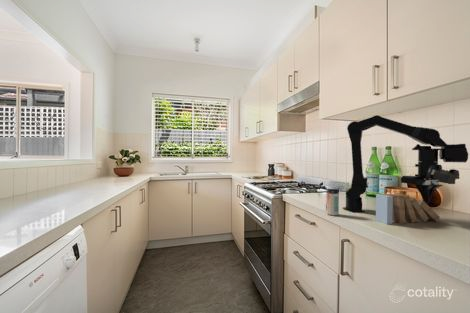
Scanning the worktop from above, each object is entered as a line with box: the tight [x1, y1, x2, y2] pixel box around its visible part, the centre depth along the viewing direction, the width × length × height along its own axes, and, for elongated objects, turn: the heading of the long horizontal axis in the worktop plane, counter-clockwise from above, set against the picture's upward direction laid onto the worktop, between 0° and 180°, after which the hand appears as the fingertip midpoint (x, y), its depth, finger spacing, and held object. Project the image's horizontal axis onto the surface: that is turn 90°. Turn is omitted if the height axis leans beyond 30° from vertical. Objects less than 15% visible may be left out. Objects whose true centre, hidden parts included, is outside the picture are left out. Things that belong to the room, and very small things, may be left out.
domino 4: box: [415, 198, 440, 222], centre depth 83 cm, size 5×2×10 cm
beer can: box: [325, 184, 340, 217], centre depth 89 cm, size 5×5×12 cm
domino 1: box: [386, 193, 406, 225], centre depth 80 cm, size 5×2×10 cm, turn 10°
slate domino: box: [375, 193, 393, 225], centre depth 80 cm, size 5×2×10 cm, turn 10°
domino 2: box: [395, 193, 418, 224], centre depth 81 cm, size 5×2×10 cm, turn 10°
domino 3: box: [409, 196, 429, 223], centre depth 82 cm, size 5×2×10 cm
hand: (427, 202), depth 83 cm, fingers closed
